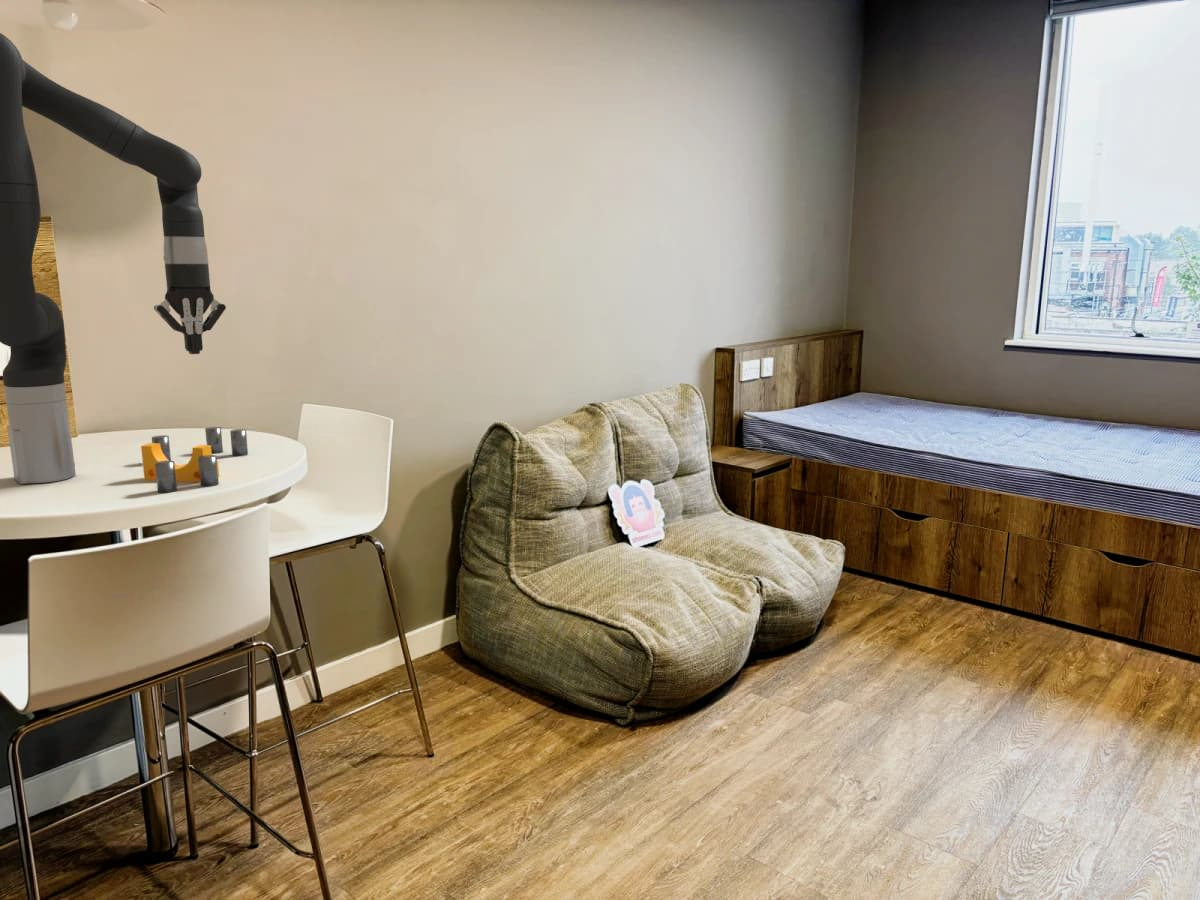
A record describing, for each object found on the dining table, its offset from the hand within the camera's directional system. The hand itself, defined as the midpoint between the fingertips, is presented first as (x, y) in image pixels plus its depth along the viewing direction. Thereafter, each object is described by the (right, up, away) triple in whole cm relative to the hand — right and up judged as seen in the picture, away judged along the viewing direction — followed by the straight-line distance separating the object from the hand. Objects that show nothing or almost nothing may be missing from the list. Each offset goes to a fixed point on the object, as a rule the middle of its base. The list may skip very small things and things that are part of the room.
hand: (194, 353), depth 174 cm
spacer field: (+2, -22, -2) cm, 22 cm away
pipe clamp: (+2, -24, -9) cm, 26 cm away
